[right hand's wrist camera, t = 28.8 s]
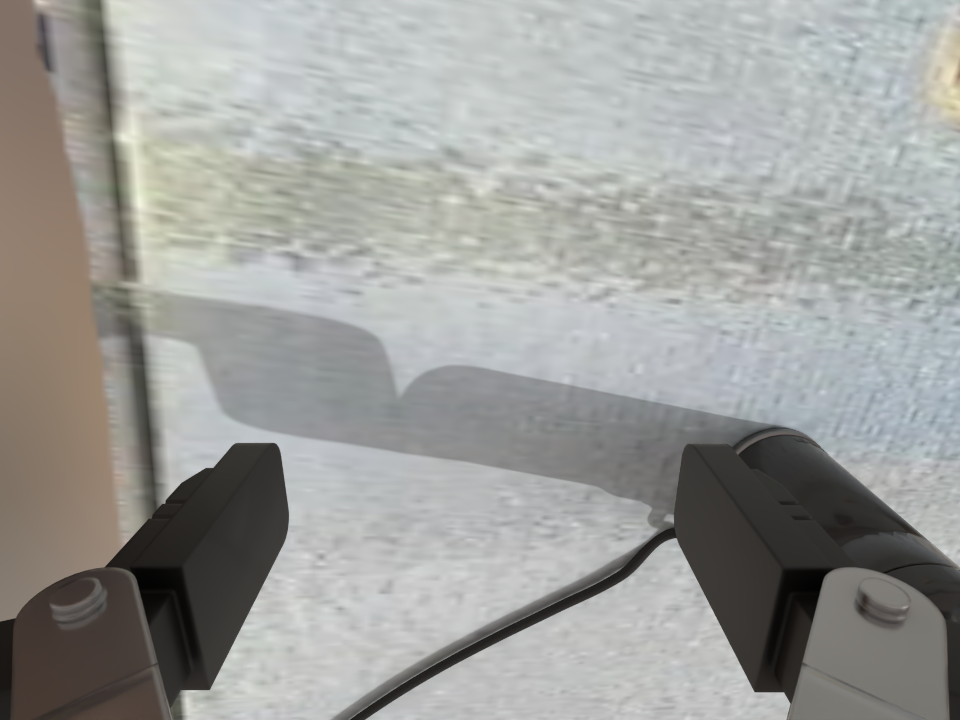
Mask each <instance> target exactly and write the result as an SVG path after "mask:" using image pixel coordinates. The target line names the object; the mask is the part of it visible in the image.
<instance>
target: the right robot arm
mask: <svg viewBox="0 0 960 720" xmlns="http://www.w3.org/2000/svg"><path fill="white" fill-rule="evenodd" d="M288 523H289V510H288V502H287V495H286V488H285V481H284V474H283V466H282V459H281V453H280V450H279V447H278V446H277V444H275V443H236V444H234V445H233V446H232V447H231V448H230V449H229V450H228V451H227V453H226V454H225V455H224V456H223V457H222V459H221V460H220V461H219V462H218V463H217V464H216V466H215V467H214V468H205V469H204V470H202V471H200V472H199V473H197V474H196V475H194V476H192V477H191V478H189V479H187V480H186V481H184V482H182V483H181V484H180V485H179V486H178V487H177V489H176V490H175V491H174V492H173V493H172V494H171V495H170V496H169V497H168V498H167V500H166V503H165V504H162V505H161V506H160V507H159V508H158V509H157V511H156V512H155V513H154V514H153V515H152V519H148V520H147V522H146V523H145V524H144V525H143V526H142V527H141V528H140V529H139V530H138V531H137V532H136V534H135V535H134V536H133V537H132V538H131V539H130V540H129V541H128V542H127V543H126V545H125V546H124V547H123V548H122V549H121V550H120V551H119V552H118V553H117V554H116V556H115V557H114V558H113V559H112V560H111V561H110V562H109V563H108V564H107V565H106V566H105V567H104V568H96V569H91V570H87V571H83V572H80V573H77V574H74V575H71V576H69V577H66V578H64V579H62V580H60V581H58V582H56V583H54V584H52V585H50V586H49V587H47V588H45V589H44V590H42V591H41V592H39V593H38V594H37V595H36V596H34V597H33V598H32V599H31V600H30V601H28V603H27V604H26V605H25V606H24V607H23V608H22V609H21V611H20V612H19V613H18V615H17V617H16V618H15V619H11V620H6V621H1V622H0V720H173V716H172V712H171V709H170V708H171V706H172V705H173V703H174V701H175V699H176V697H177V696H178V694H179V692H180V690H210V688H211V686H212V684H213V682H214V680H215V678H216V676H217V675H218V673H219V671H220V669H221V667H222V665H223V663H224V661H225V659H226V657H227V655H228V653H229V651H230V649H231V647H232V645H233V643H234V641H235V639H236V637H237V635H238V633H239V631H240V629H241V627H242V625H243V623H244V621H245V619H246V617H247V615H248V613H249V611H250V609H251V607H252V605H253V603H254V601H255V599H256V597H257V595H258V593H259V591H260V590H261V588H262V586H263V584H264V582H265V580H266V578H267V576H268V574H269V572H270V570H271V568H272V566H273V564H274V562H275V560H276V558H277V556H278V554H279V552H280V550H281V548H282V546H283V544H284V542H285V539H286V535H287V531H288ZM674 525H675V528H673V529H668V530H666V531H664V532H662V533H660V534H659V535H657V536H656V537H654V538H653V539H652V540H651V541H649V542H648V543H647V544H646V545H645V546H644V547H643V548H642V549H641V550H640V551H639V552H638V553H637V554H636V556H635V557H634V558H633V559H632V560H631V561H630V562H629V563H628V564H627V565H626V566H625V567H623V568H622V569H621V570H619V571H618V572H617V573H615V574H613V575H612V576H610V577H608V578H606V579H604V580H603V581H601V582H599V583H597V584H595V585H593V586H591V587H589V588H587V589H585V590H583V591H580V592H578V593H576V594H574V595H572V596H570V597H567V598H565V599H563V600H561V601H559V602H557V603H555V604H553V605H551V606H549V607H547V608H545V609H543V610H541V611H539V612H536V613H534V614H532V615H530V616H528V617H526V618H524V619H522V620H520V621H518V622H516V623H514V624H512V625H510V626H508V627H506V628H504V629H502V630H500V631H498V632H496V633H494V634H492V635H490V636H488V637H486V638H484V639H482V640H480V641H478V642H476V643H474V644H473V645H471V646H469V647H467V648H465V649H463V650H461V651H459V652H457V653H455V654H454V655H452V656H450V657H448V658H446V659H445V660H443V661H441V662H439V663H437V664H436V665H434V666H432V667H430V668H429V669H427V670H425V671H424V672H422V673H420V674H419V675H417V676H415V677H414V678H412V679H410V680H409V681H407V682H405V683H404V684H402V685H401V686H399V687H397V688H396V689H394V690H393V691H391V692H390V693H388V694H387V695H385V696H384V697H382V698H381V699H379V700H378V701H376V702H375V703H373V704H372V705H370V706H369V707H367V708H366V709H364V710H363V711H361V712H360V713H359V714H357V715H356V716H354V717H353V718H352V719H350V720H365V719H367V718H368V717H370V716H371V715H372V714H374V713H375V712H377V711H378V710H380V709H381V708H383V707H384V706H386V705H388V704H389V703H391V702H392V701H394V700H395V699H397V698H398V697H400V696H402V695H403V694H405V693H406V692H408V691H410V690H411V689H413V688H414V687H416V686H418V685H420V684H421V683H423V682H425V681H426V680H428V679H430V678H432V677H433V676H435V675H437V674H438V673H440V672H442V671H444V670H446V669H447V668H449V667H451V666H453V665H455V664H457V663H458V662H460V661H462V660H464V659H466V658H468V657H470V656H472V655H474V654H476V653H478V652H479V651H481V650H483V649H485V648H487V647H489V646H491V645H493V644H495V643H497V642H499V641H501V640H503V639H505V638H507V637H509V636H511V635H513V634H515V633H517V632H519V631H521V630H523V629H526V628H528V627H530V626H532V625H534V624H536V623H538V622H540V621H542V620H544V619H546V618H548V617H550V616H552V615H554V614H556V613H559V612H561V611H563V610H565V609H567V608H569V607H571V606H573V605H576V604H578V603H580V602H582V601H584V600H586V599H589V598H591V597H593V596H595V595H597V594H599V593H601V592H603V591H605V590H607V589H609V588H610V587H612V586H614V585H616V584H618V583H619V582H621V581H622V580H624V579H625V578H627V577H628V576H629V575H631V574H632V573H633V572H634V571H635V570H636V569H637V568H638V567H639V566H640V565H641V564H642V563H643V562H644V560H645V559H646V558H647V557H648V556H649V555H650V554H651V553H652V552H653V551H654V550H655V549H656V548H657V547H658V546H659V545H660V544H662V543H663V542H665V541H667V540H669V539H673V538H677V540H678V543H679V545H680V547H681V549H682V551H683V553H684V555H685V557H686V559H687V561H688V563H689V565H690V567H691V569H692V571H693V573H694V574H695V576H696V578H697V580H698V582H699V584H700V586H701V588H702V590H703V592H704V594H705V596H706V598H707V600H708V602H709V604H710V606H711V608H712V610H713V612H714V614H715V616H716V617H717V619H718V621H719V623H720V625H721V627H722V629H723V631H724V633H725V635H726V637H727V639H728V641H729V643H730V645H731V647H732V649H733V651H734V653H735V655H736V657H737V658H738V660H739V662H740V664H741V666H742V668H743V670H744V672H745V674H746V676H747V678H748V680H749V682H750V684H751V686H752V688H753V690H754V692H784V693H785V695H786V696H787V698H788V700H789V702H790V703H791V705H790V709H789V712H788V716H787V720H960V567H958V566H957V565H956V564H955V563H954V562H953V561H951V560H950V559H949V558H948V557H947V556H946V555H944V554H943V553H942V552H941V551H940V550H939V549H938V548H936V547H935V546H934V545H933V544H931V543H930V542H929V541H928V540H927V539H926V538H925V537H923V536H922V535H921V534H920V533H919V532H918V531H917V530H915V529H914V528H913V527H912V526H911V525H910V524H908V523H907V522H906V521H905V520H904V519H903V518H901V517H900V516H899V515H898V514H897V513H896V512H894V511H893V510H892V509H891V508H890V507H889V506H887V505H886V504H885V503H884V502H883V501H882V500H880V499H879V498H878V497H877V496H876V495H875V494H873V493H872V492H871V491H870V490H869V489H868V488H866V487H865V486H864V485H863V484H862V483H861V482H859V481H858V480H857V479H856V478H855V477H854V476H852V475H851V474H850V473H849V472H848V471H847V470H845V469H844V468H843V467H842V466H841V465H840V464H838V463H837V462H836V461H835V460H834V459H833V458H831V457H830V456H829V455H828V454H827V453H826V452H825V451H824V450H823V449H822V448H821V447H820V446H819V445H818V444H817V443H816V442H815V441H813V440H812V439H811V438H810V437H808V436H807V435H805V434H803V433H801V432H799V431H796V430H792V429H785V428H777V429H768V430H764V431H761V432H758V433H755V434H753V435H751V436H749V437H747V438H745V439H744V440H742V441H741V442H740V443H738V444H737V445H736V446H735V447H734V448H732V447H731V446H730V445H728V444H688V445H686V447H685V448H684V451H683V455H682V461H681V468H680V475H679V482H678V489H677V496H676V503H675V510H674Z"/></svg>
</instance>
